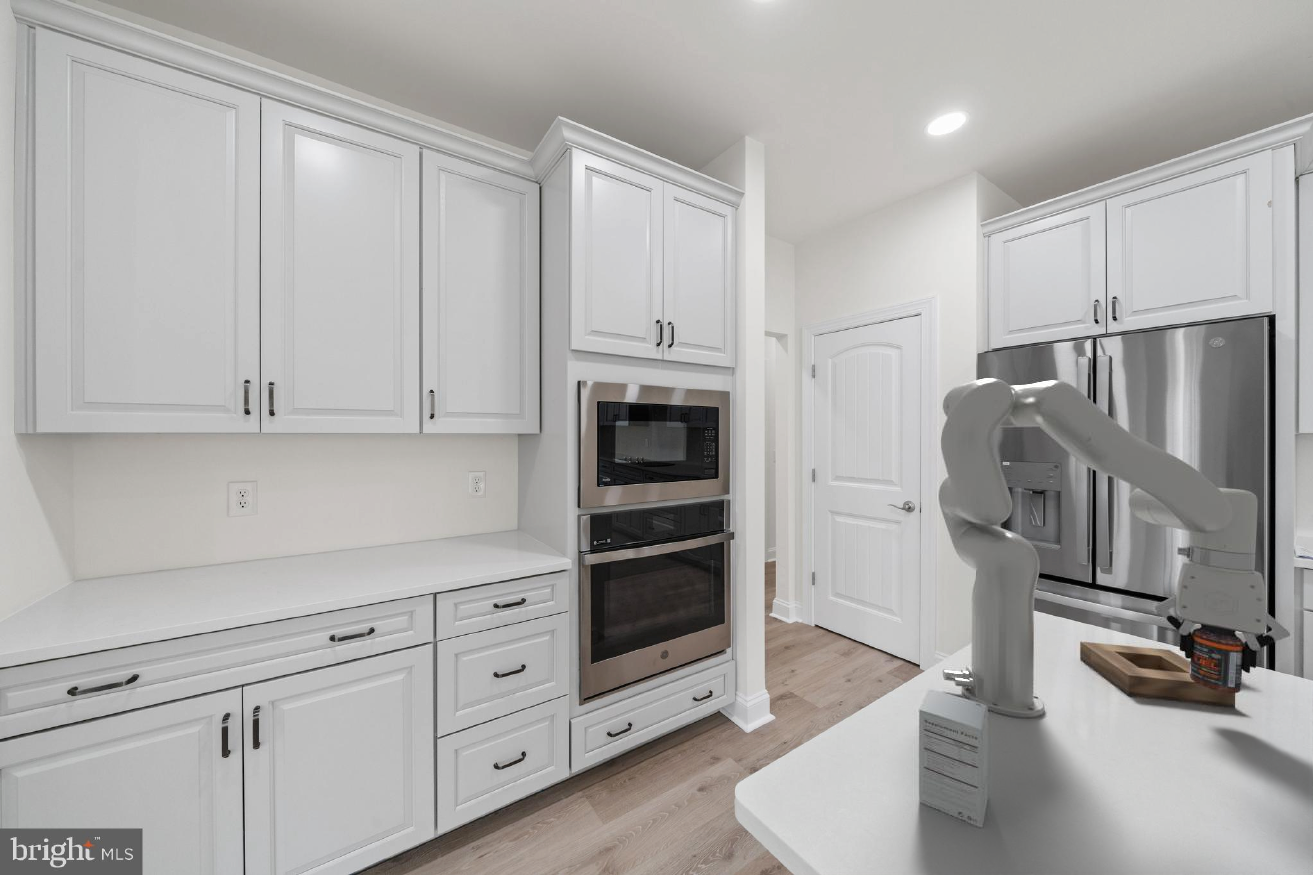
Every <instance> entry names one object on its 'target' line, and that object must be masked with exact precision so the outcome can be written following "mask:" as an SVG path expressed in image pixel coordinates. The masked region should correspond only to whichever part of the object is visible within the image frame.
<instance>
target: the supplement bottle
mask: <svg viewBox="0 0 1313 875" xmlns="http://www.w3.org/2000/svg"><path fill="white" fill-rule="evenodd" d="M1236 633H1237V631H1234V630H1229V629H1224V628H1219V627H1214V626H1209V625H1204V624H1200V627H1197V628H1194V629H1193V630H1192V632H1191V634H1192V638H1193V639H1192V658H1190V659H1189V661H1190V678H1191V679H1192V680H1193V681H1194V682H1196V683H1197V684H1199V685H1201V686H1204V687H1207V688H1210V689H1213V690H1216V691H1221V692H1226V693H1235V694H1238V693H1240V692H1241V690H1242V678H1243V676H1242V675H1243V670H1242V662H1243V645H1244V641H1243V640H1242V639H1241V638H1240V637H1238V636H1237V634H1236Z"/></svg>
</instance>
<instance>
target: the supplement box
mask: <svg viewBox="0 0 1313 875" xmlns="http://www.w3.org/2000/svg"><path fill="white" fill-rule="evenodd" d="M923 698H924V699H923V700H922V704H921V705H920V708H919V709H918V714H919V715H918V716H919V717H918V729H919V730H918V790H919V791H918V801H919V802H920V803H921V804H923V805H925V806H927V807H928V806H929V807H930V806H931V807H930V808H932V807H933V808H932V809H935V808H937V809H939V810H941V811H940V812H942V813H944V812H946V813H948V814H947V815H949V816H951V815H953V816H954V818H956V817H957V819H958V818H959V819H958V820H961V819H962V820H961V821H963V820H965V821H967V822H966V823H968V822H969V824H970V823H971V825H973V824H974V825H973V826H975V827H978V828H982V829H983V827H984V822H985V816H986V813H987V812H986V811H987V805H988V799H989V798H988V797H989V775H988V774H989V723H988V722H989V716H988V715H989V710H988V706H987V705H984V704H981V703H978V702H975V701H971V700H970V699H968V698H964V697H961V696H960V697H959V696H957V695H953V694H951V693H950V694H949V693H946V692H943V691H939V690H934V689H932V688H928V690H927V693H926V695H925V697H923ZM937 809H936V810H937ZM939 810H938V811H939ZM946 813H945V814H946ZM953 816H952V817H953ZM965 821H964V822H965Z"/></svg>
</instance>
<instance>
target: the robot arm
mask: <svg viewBox="0 0 1313 875" xmlns="http://www.w3.org/2000/svg"><path fill="white" fill-rule="evenodd" d="M947 392H948V393H946V395H945V396H944V398H943V402H942V410H943V414H944V415H945V416H946V420H945V423H944V424H943V427H942V431H941V437H940V447H941V448H940V449H941V454H942V458H943V460H944V461H943V462H944V465H945V469H946V472H947V477H946V478H945V479H944V480H943V481H942V483H941V484H940V486H939V489H938V503H939V507H940V509H941V513H942V516H943V519H944V522H945V526H946V528H947V531H948V534H949V537H950V541H951V543H952V545H953V547H954V550H955V553H956V554H957V556H958V558H960V560H961V561H962V562H964V564H966V565H967V566H969V567H970V568H972V569H974V570H975V571H976V574H975V575H976V576H975V581H974V583H973V587H972V591H971V592H972V593H971V665H969V664H968V665H967V664H966V666H965V669H961V670H960V671H958V670H955V669H954V670H953V669H945V668H944V669H942V676H943V679H944V681H949V682H954V686H956V687H961V691H962V693H963V695H964V696H965V697H966V699H968V700H971V701H975V702H978V703H981V704H984V705H987V706H988V711H992V712H995V713H998V714H1000V715H1001V714H1002V715H1005V716H1009V717H1016V718H1036V717H1040V716H1041V715H1043V714H1044V712H1045V703H1044V701H1043V700H1042V698H1041V697H1040V696H1039V695H1037V694H1036V693H1034V685H1035V684H1034V678H1035V677H1034V661H1035V660H1034V659H1035V657H1034V654H1035V653H1034V652H1035V651H1034V650H1035V649H1034V647H1035V646H1034V644H1035V642H1034V641H1035V639H1034V638H1035V634H1034V633H1035V632H1034V631H1035V628H1034V627H1035V625H1034V624H1035V622H1034V617H1035V616H1034V613H1035V612H1034V611H1035V606H1034V605H1035V597H1036V596H1035V595H1036V594H1035V593H1036V588H1037V583H1038V580H1039V575H1040V569H1041V565H1040V564H1041V562H1040V556H1039V555H1038V553H1037V550H1036V549H1035V547H1034V546H1033V544H1032V543H1030V542H1029V541H1028V540H1027V539H1026V538H1024V537H1023V536H1021V535H1020V534H1018V533H1015V532H1013V531H1010V530H1007V529H1004V528H1001V526H1000V524H1001V523H1004V522H1005V521H1006V520H1008V518H1009V517H1010V516H1011V513H1012V510H1013V498H1012V496H1011V493H1010V490H1009V487H1008V485H1007V481H1006V479H1005V476H1004V473H1003V471H1002V468H1001V464H1000V463H999V459H998V454H997V451H996V445H995V441H996V440H995V439H996V438H995V437H996V434H997V431H998V429H999V428H1035V427H1039V429H1041V430H1042V431H1044V432H1045V433H1046V434H1047V435H1048V436H1049V437H1051V438H1052V440H1054V441H1055V442H1056V443H1057V444H1058V445H1059V446H1061V447H1062V448H1063V449H1064V450H1066V451H1067V452H1068V453H1069V454H1070V455H1071V456H1072V457H1073V458H1075V460H1076V461H1078V462H1079V463H1080V464H1082V465H1084V466H1085V467H1088V469H1091V470H1094V471H1096V472H1098V473H1100V474H1103V475H1106V476H1108V477H1112V478H1114V479H1118V480H1119V481H1122V482H1125V483H1126V484H1129V485H1131V486H1132V487H1135V489H1134V490H1133V491H1132V492H1131V493H1130V495H1129V497H1128V506H1129V509H1130V511H1131V512H1132V513H1133V514H1134V515H1135V516H1136V517H1137V518H1139V519H1141V520H1142V521H1144V522H1147V523H1150V524H1154V525H1157V526H1162V527H1167V528H1172V529H1177V530H1181V531H1186V532H1189V544H1188V546H1185V547H1179V546H1178V547H1177V556H1183V557H1186V558H1187V559H1188V560H1186V561H1183V562H1182V565H1181V567H1180V569H1179V570H1180V571H1179V576H1178V579H1177V586H1176V594H1174V595H1173V596H1171V597H1169V598H1167V599H1165V600H1164V601H1161V602H1159V603H1157V604H1155V605H1154V610H1155V611H1156V612H1157V613H1159V615H1160V616H1162V617H1163V618H1164V619H1165V620H1166V621H1167V622H1168V623H1169V624H1170V625H1171V626H1172V627H1173V628H1175V630H1176V631H1178V632H1179V652H1184V658H1185V659H1187V660H1188V659H1189V660H1191V658H1192V639H1193V638H1192V632H1191V631H1192V629H1193V628H1194V626H1195V625H1196V624H1199V625H1201V624H1204V625H1209V626H1214V627H1219V628H1224V629H1229V630H1234V631H1236V632H1239V633H1242V636H1243V637H1244V640H1245V641H1243V662H1242V672H1245V673H1247V674H1251V673H1250V672H1251V668H1254V669H1256V667H1257V654H1258V653H1257V652H1258V651H1259V650H1260V649H1262V648H1265V647H1267V646H1269V645H1272V644H1274V643H1275V642H1278V641H1280V640H1283V639H1285V638H1288V637H1290V635H1291V633H1290V631H1289V630H1288V629H1287V628H1285V627H1284V626H1283V625H1282V624H1281V623H1280V622H1279V621H1277V619H1275V618H1274V617H1273V616H1271V615H1270V614H1269V613H1268V612H1267V600H1266V599H1267V598H1266V597H1267V596H1266V587H1265V582H1264V578H1263V574H1262V573H1260V572H1259V571H1255V569H1256V568H1255V566H1256V549H1257V548H1256V544H1257V527H1258V525H1257V524H1258V505H1259V503H1258V498H1257V495H1256V494H1255V493H1253V492H1252V491H1249V490H1244V489H1239V488H1237V489H1236V488H1227V487H1226V488H1225V487H1217V485H1215V484H1214V483H1213V482H1212V481H1211V480H1209V479H1208V478H1207V477H1206V476H1205V475H1203V474H1202V473H1201V472H1200V471H1198V470H1197V469H1195V467H1193V466H1191V465H1190V464H1188V463H1187V462H1186V461H1184V460H1182V459H1180V458H1178V457H1176V456H1175V455H1173V454H1171V453H1169V452H1167V451H1165V450H1163V449H1161V448H1159V447H1157V446H1155V445H1153V444H1152V443H1150V442H1148V441H1146V440H1144V439H1142V438H1140V437H1138V436H1135V435H1133V434H1132V433H1131V432H1129V431H1127V430H1126V429H1125V428H1123V426H1122V425H1120V424H1119V423H1118V422H1117V421H1116V420H1114V419H1113V418H1112V417H1111V416H1110V415H1108V414H1107V413H1106V412H1105V411H1104V410H1103V409H1101V408H1100V407H1099V406H1098V405H1097V404H1096V403H1095V402H1093V401H1092V400H1091V399H1090V398H1088V397H1087V396H1086V395H1085V394H1083V393H1082V391H1080V390H1079V389H1078V388H1077V387H1075V386H1073V385H1072V384H1071V383H1068V382H1065V381H1062V380H1055V379H1054V380H1045V381H1040V382H1035V383H1031V384H1030V383H1029V384H1021V385H1009V383H1007V382H1006V381H1004V380H1002V379H998V378H989V377H988V378H982V379H976V380H973V381H970V382H967V383H964V384H963V383H962V384H960V385H957V386H955V387H953V388H952V389H950V390H949V391H947ZM1174 607H1175V610H1176V614H1177V616H1178V617H1180V618H1181V619H1182V620H1180V619H1179V618H1178V617H1177V616H1175V615H1174V614H1173V613H1172V612H1171V611H1170V609H1172V608H1174ZM1267 626H1268V627H1269V628H1270V629H1271V630H1270V631H1268V632H1265V631H1266V628H1267ZM1259 634H1260V635H1259ZM1256 635H1257V636H1256Z"/></svg>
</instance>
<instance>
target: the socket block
mask: <svg viewBox="0 0 1313 875" xmlns="http://www.w3.org/2000/svg"><path fill="white" fill-rule="evenodd" d="M1079 643H1080V644H1079V645H1080V646H1079V647H1080V648H1079V649H1080V650H1079V659H1080V661H1082V662H1083V663H1084V664H1085V665H1086V666H1088V667H1089V668H1091V669H1092V670H1093V671H1095V672H1096V673H1098V674H1099V675H1100V676H1101V677H1102V678H1104V679H1105V680H1106V681H1108V682H1109V683H1110V684H1112V685H1113V686H1115V688H1117V689H1118V690H1119V691H1121V692H1122V693H1124V694H1125V695H1126V696H1128V697H1134V698H1142V699H1151V700H1158V701H1159V700H1160V701H1167V702H1168V701H1169V702H1178V703H1185V704H1193V705H1204V706H1210V707H1220V708H1227V709H1236V693H1226V692H1221V691H1216V690H1213V689H1210V688H1207V687H1204V686H1201V685H1199V684H1197V683H1196V682H1194V681H1193V680H1192V679H1191V678H1190V659H1189V660H1188V658H1185V657H1183V656H1181V655H1180V654H1178V653H1176V652H1174V651H1172V650H1170V649H1164V648H1154V647H1153V648H1152V647H1142V646H1133V645H1132V646H1131V645H1123V644H1122V645H1121V644H1113V643H1112V644H1110V643H1099V642H1091V641H1090V642H1089V641H1080V642H1079Z"/></svg>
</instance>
